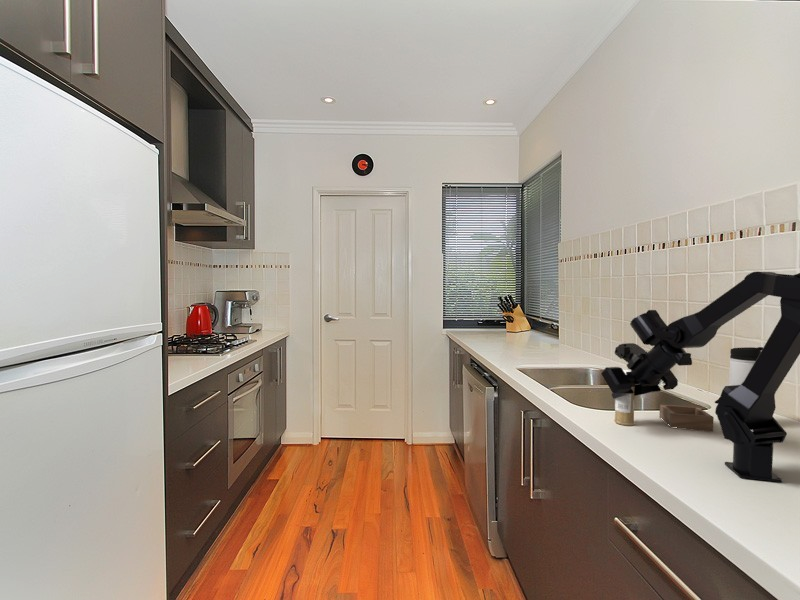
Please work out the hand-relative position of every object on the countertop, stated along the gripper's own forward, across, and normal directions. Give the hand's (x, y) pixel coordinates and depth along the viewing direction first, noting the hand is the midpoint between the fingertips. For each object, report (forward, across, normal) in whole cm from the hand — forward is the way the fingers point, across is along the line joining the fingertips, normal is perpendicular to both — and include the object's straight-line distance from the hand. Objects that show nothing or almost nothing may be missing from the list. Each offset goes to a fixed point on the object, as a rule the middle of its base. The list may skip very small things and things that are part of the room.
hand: (620, 396), depth 111 cm
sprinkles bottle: (+4, 0, +6) cm, 7 cm away
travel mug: (-2, -30, +12) cm, 32 cm away
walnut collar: (0, -15, +9) cm, 17 cm away
